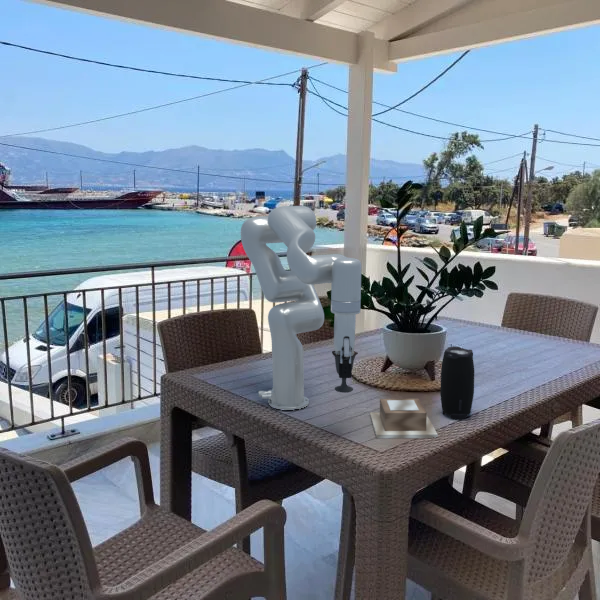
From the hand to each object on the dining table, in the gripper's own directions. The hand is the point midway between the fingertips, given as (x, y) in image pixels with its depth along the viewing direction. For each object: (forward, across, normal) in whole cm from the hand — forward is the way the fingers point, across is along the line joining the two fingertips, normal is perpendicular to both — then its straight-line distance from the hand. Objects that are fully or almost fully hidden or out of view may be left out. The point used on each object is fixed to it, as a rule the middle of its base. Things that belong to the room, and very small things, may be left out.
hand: (344, 373), depth 150 cm
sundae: (+5, 0, 0) cm, 5 cm away
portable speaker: (+17, -13, +34) cm, 40 cm away
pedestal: (+17, -5, +17) cm, 24 cm away
